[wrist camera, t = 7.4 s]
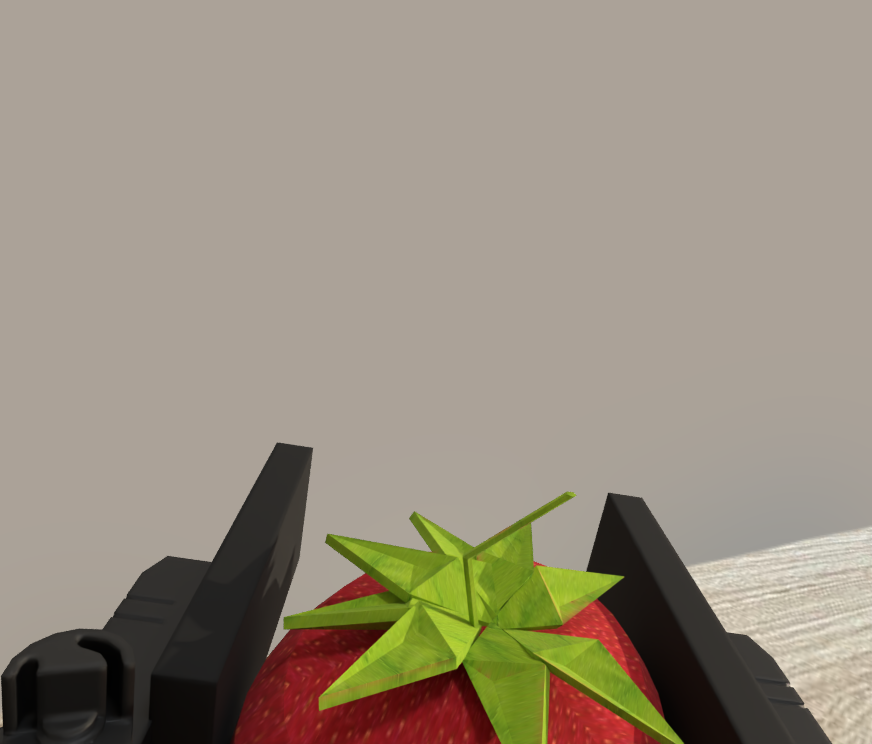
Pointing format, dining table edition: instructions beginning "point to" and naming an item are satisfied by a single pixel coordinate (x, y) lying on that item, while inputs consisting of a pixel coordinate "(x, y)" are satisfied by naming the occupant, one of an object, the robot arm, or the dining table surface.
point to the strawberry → (456, 653)
